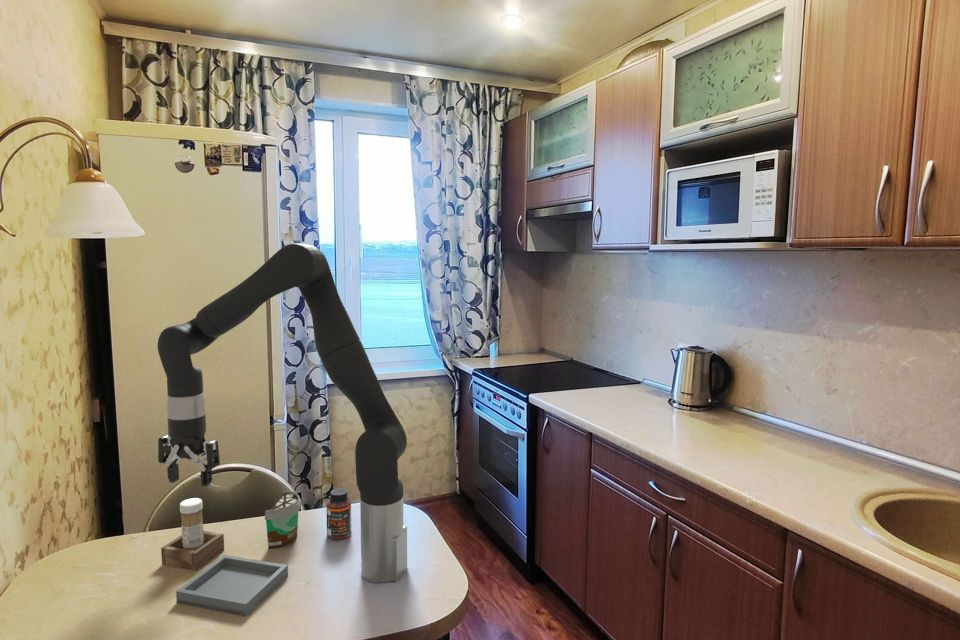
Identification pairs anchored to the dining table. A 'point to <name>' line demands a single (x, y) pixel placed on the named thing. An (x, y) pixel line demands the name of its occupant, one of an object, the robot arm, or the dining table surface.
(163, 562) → the socket
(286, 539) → the food container
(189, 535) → the sprinkles bottle
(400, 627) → the dining table surface
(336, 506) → the supplement bottle
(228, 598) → the tray
